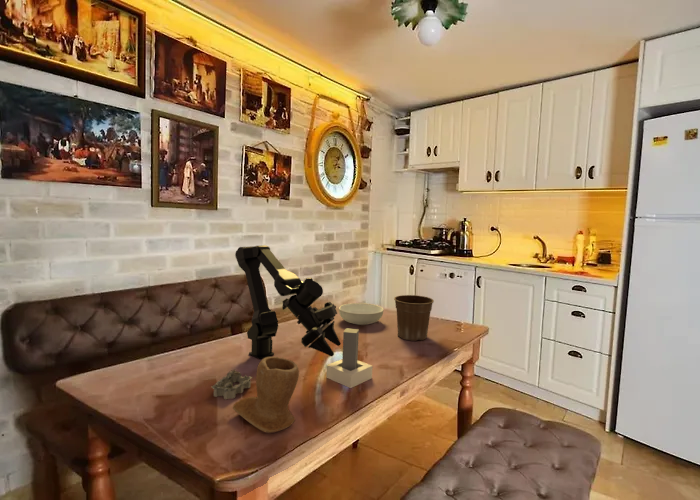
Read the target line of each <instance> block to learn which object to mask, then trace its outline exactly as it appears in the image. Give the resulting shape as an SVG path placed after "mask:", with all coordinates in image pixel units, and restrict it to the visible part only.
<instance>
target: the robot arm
mask: <svg viewBox="0 0 700 500" xmlns="http://www.w3.org/2000/svg"><path fill="white" fill-rule="evenodd" d="M234 254H235V255H234V256H235V259H236V261H237V264H238V267H239V268H240V269H241V270H242V271H243V272H244V274H245V277H246V282H247V283H246V284H247V286H248V291H249V294H250V299H251V303H252V308H253V314H252V317H251V327H250V328H249V329H248V330H247V331H246V335H247V339H249V340H251V351H249V352H248V355H250V356H252V357H254V358H257V359H261V360H262V359H264V358H266V357H272V356H273V355H275V352H273V339H272V338H274V337H276V336H277V333H278V329H279V320H278V316H277V312H276V311H275V310H272V309H271V308H269V305H268V302H267V301H268V300H267V297H266V293H265V288H264V284H263V283H264V282H263V280H262V276H261V272H260V267H261V264H262V266H263V267H264V269H265V270H266V271H267V272H268V273H269V275H270V276H271V277H272V279H273V281H274V282H273V286H274V288H275V290H276V291H277V293H278V295H280V296H281V297H286V296H287V297H288V296H290V297H289V298H285V299H283V300H282V301H281V302H282V306H281V307H282V310H284V311H285V310H287V309H288V310H289V311H290V312H291V313H292V314H293V315H294V317H295V318H296V319H297V322H296V323H297V324H298V325H300V324H301V325H302V326H303V328H304V329H306V331H305V333H306V334H305V335H303V336H302V337H301V338H300V339H301V342H300V343H301V344H302V345H303V346H304V348H309V349H313V350H316V351H319V352H321V353H322V354H325V355H327V356H329V357H333V356H334V355H335V352H334V351H333V349H332V348H331V346H330V345H329V344H328V342H327V341H329V342H331V343H333V344H334V345H336V346H338V347H339V346H340V345H341V344H342V343H341V341H340V339H339V337H338V335H337V332H336V330H335V322H336V321H335V317H336V315H338V312H337V309H336V308H337V306H336V305H335V304H334V303H332V302H331V301H327V302H325V303H324V305H323V307H321V308H320V309H318V308H317V307H315V306H313V307H312V305H313V304H314V303H315V302H316V301H317V300H318V299H319V298H321V296H322V295H323V294H324V289H323V287H322V285H320V283H318V282H317V281H315V280H313V277H307V278H305V280H304V281H302V280H301V278H300V277H299V276H297V274H295V273H294V272H292V271H289V270H287V269H286V267H284V265H283V264H282V263H281V262H280V261H279V259H278V258H277V257H276V255H275V254H274V253H273V251H272V250H271V248H270V246H268V245H266V244H264V245H262V244H261V245H255V246H252V245H251V246H239V247H238V248H237V250H236V251H235V253H234ZM326 339H327V340H326Z"/></svg>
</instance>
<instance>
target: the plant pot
mask: <svg viewBox="0 0 700 500" xmlns="http://www.w3.org/2000/svg"><path fill="white" fill-rule="evenodd" d="M393 299H394V301H395V308H396V323H397V324H396V325H397V336H398V337H400V338H401V339H403V340H406V341H411V342H412V341H415V342H416V341H418V340H419V341H424V340H426V339H427V338H428V332H429V325H430V317H431V311H432V309H433V304H434V302H435V301H434V299H433V298H431V297H428V296H425V295H424V296H423V295H418V294H417V295H416V294H415V295H414V294H404V295H403V294H401V295H397V296H394V298H393Z"/></svg>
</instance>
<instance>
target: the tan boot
mask: <svg viewBox="0 0 700 500" xmlns="http://www.w3.org/2000/svg"><path fill="white" fill-rule="evenodd" d="M299 374H300V369H299V366H298V364H297V363H296V362H294V361H293V360H291V359H287V358H284V357H278V356H267V357H264V358H261V361H259V363H258V365H257V368H256V374H255V375H256V378H255V386H256V393H257V394H256V395H257V396H249V397H244V398H241V399H240V400H238V401H237V402H235V403H234V404H233V405H232V409H233V411H235V413H236V414H238V415H239V416H240V417H242V418H243V419H244V420H246V421H247V422H248V423H249V424H250V425H252V426H253V427H255V428H256V429H258V430H259V431H261V432H264V433H276V432H280V431H282V430H286V429H288V428H289V427H290V426H292V424H293V423H295V417H294V415H293V414H292V412H290V410H289V403H290V401H291V399H292V396H293V394H294V393H295V390H296V387H297V385H298V381H299V376H300V375H299Z"/></svg>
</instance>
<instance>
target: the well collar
mask: <svg viewBox="0 0 700 500" xmlns="http://www.w3.org/2000/svg"><path fill="white" fill-rule="evenodd" d="M325 374H326V375H325V376H326V379H329V380H331V381H333V382H335V383H338V384H340V385H342V386H345V387H346V388H347V387H348V388H350V389H352V388H354V387H356V386H359V385H361V384H362V383H364V382H367V381H369V380H371V379H373V365H372V364H370V363H366V362H364V361H360V360H358V361H357V369H354V370H352V371H349V370H347V369H344V368H342V359H339V360H336V361H334V362H331V363H329V364H326V373H325Z"/></svg>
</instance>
